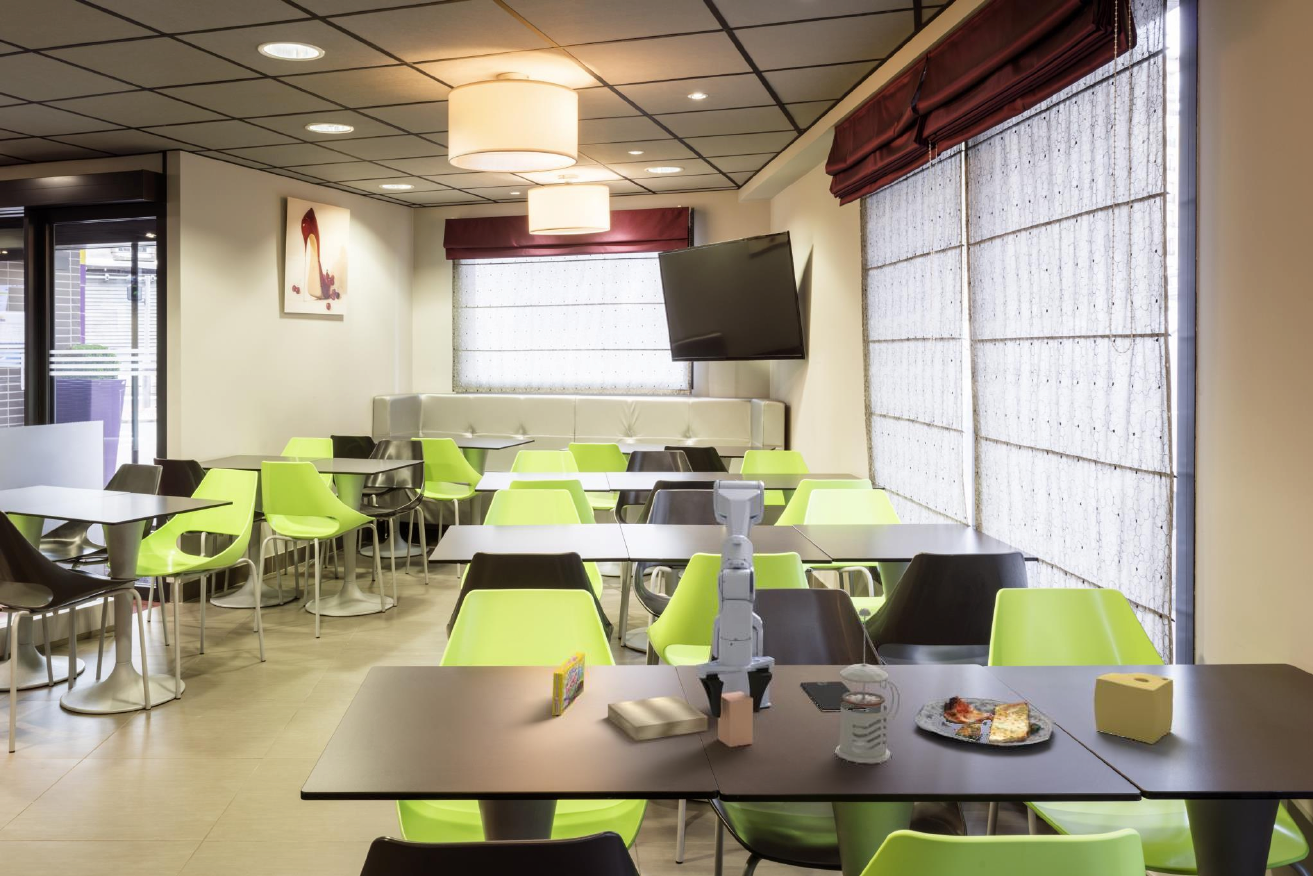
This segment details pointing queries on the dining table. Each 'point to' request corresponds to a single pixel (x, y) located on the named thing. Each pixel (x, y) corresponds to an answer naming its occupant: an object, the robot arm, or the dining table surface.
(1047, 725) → the food plate
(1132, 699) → the cheese
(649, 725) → the birch block
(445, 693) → the dining table surface
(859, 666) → the french press
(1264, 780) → the dining table surface
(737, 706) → the terracotta block
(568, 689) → the candy box
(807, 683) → the cell phone
